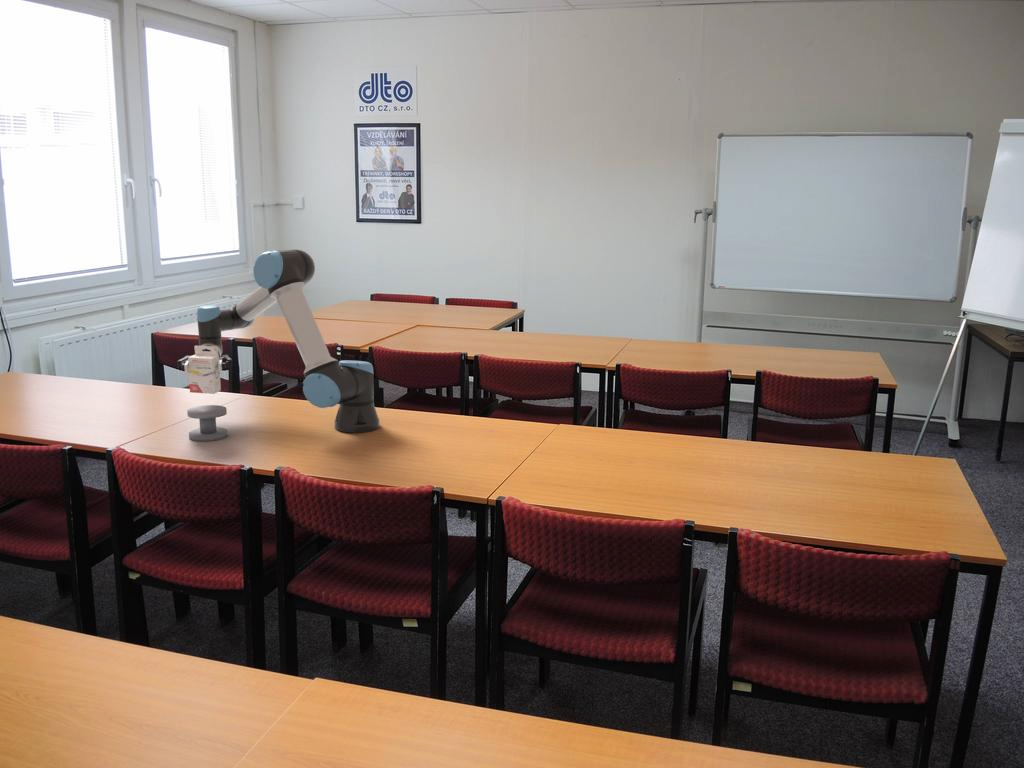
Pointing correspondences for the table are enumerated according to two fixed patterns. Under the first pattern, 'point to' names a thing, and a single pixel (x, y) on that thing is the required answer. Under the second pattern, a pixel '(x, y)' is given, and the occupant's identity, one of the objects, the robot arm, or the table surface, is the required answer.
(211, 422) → the stand
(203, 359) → the ink cartridge box
